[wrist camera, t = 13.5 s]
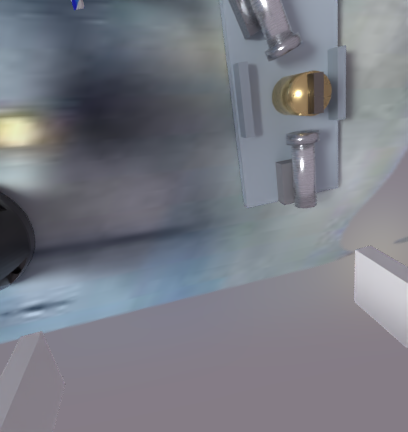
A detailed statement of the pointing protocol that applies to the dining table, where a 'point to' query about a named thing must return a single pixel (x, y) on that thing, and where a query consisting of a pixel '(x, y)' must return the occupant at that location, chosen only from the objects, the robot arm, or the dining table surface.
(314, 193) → the shaft
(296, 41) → the shaft
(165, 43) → the dining table surface
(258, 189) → the bench
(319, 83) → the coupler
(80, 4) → the cup
